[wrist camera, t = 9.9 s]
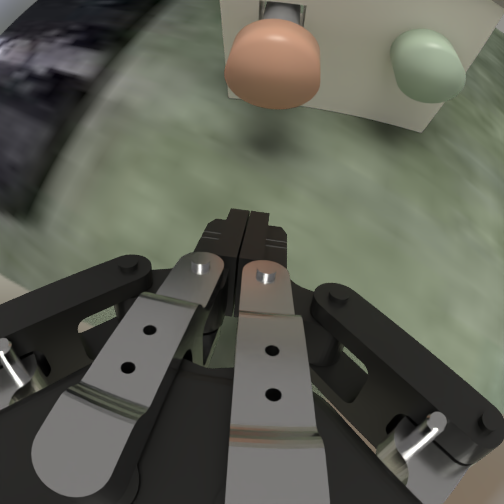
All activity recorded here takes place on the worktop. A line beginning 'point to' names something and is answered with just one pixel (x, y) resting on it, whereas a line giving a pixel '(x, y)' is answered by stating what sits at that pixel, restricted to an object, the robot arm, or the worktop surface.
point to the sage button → (427, 66)
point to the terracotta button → (274, 60)
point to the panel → (373, 48)
